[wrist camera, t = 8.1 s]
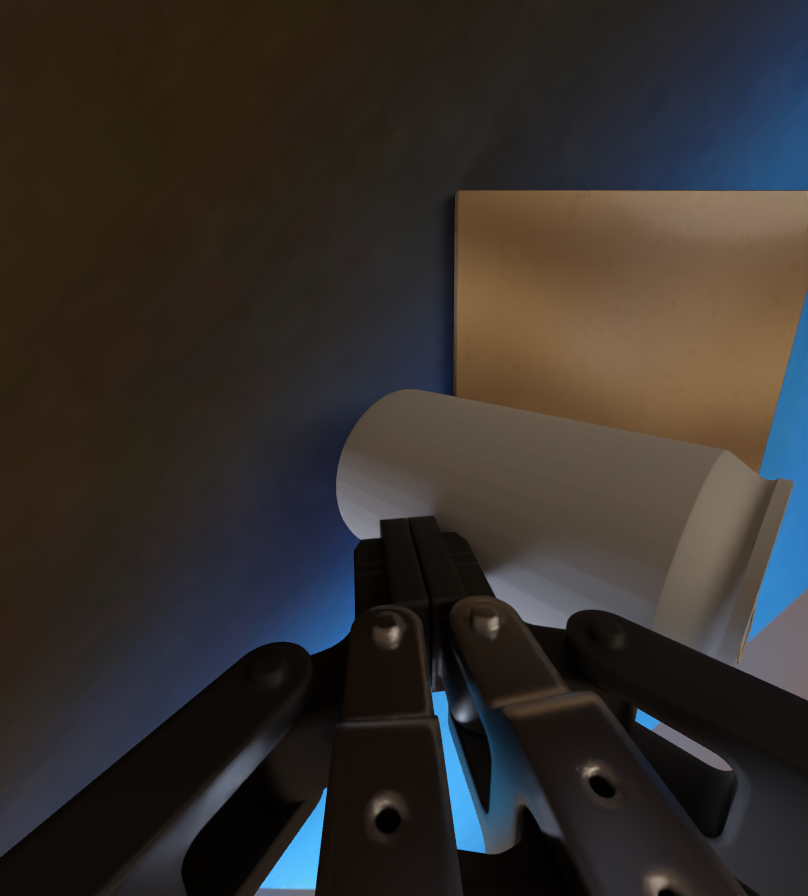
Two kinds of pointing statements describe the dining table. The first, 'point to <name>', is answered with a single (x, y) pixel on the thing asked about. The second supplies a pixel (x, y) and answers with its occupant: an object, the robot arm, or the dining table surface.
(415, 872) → the robot arm
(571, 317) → the cork mat
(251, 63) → the dining table surface
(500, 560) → the beverage can
